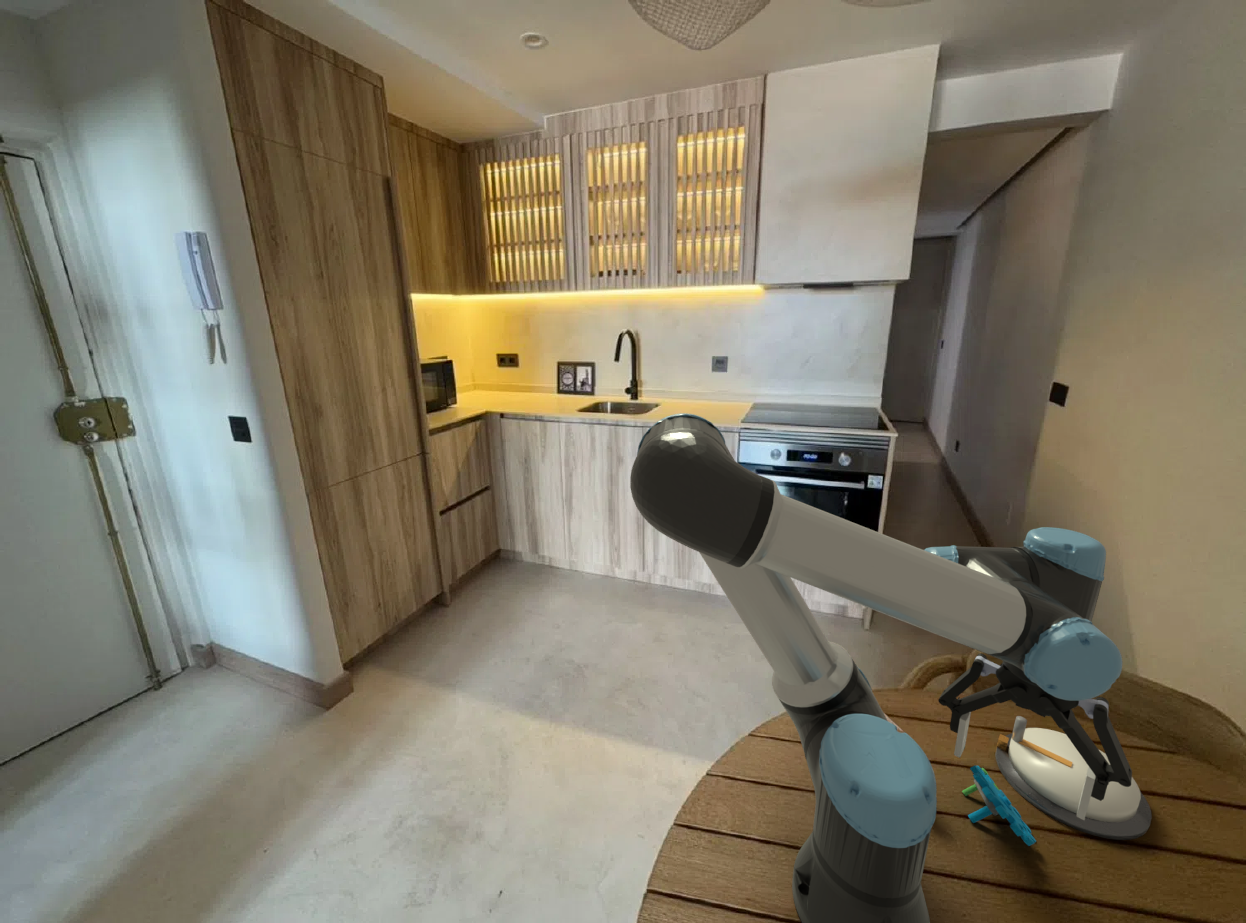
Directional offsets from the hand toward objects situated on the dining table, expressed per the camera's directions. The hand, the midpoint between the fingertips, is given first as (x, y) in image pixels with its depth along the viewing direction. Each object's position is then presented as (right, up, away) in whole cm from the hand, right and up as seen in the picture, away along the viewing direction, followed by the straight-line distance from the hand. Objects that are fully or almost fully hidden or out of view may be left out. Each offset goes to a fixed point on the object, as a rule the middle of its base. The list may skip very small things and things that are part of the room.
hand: (1016, 779), depth 69 cm
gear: (-1, -8, +2) cm, 8 cm away
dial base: (+14, -6, +8) cm, 17 cm away
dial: (+14, -4, +8) cm, 17 cm away
